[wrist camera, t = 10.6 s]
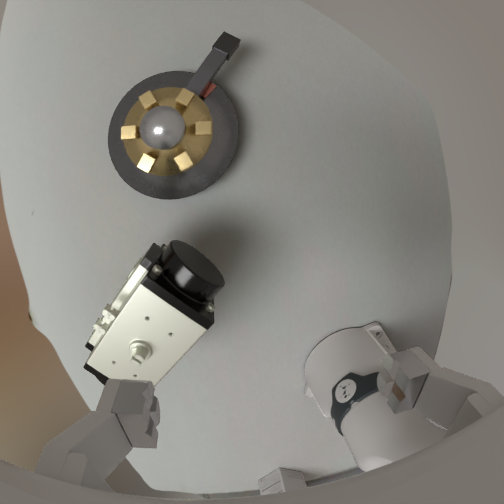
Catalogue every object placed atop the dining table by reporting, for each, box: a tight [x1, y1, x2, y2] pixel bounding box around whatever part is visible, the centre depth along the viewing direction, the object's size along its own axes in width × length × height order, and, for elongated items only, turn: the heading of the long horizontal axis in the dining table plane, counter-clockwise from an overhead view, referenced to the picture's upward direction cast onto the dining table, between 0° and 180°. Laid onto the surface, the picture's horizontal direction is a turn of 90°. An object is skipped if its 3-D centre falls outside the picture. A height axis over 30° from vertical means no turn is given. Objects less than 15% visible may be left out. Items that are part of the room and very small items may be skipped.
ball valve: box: [84, 240, 225, 387], centre depth 32 cm, size 18×8×18 cm, turn 139°
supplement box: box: [258, 468, 307, 495], centre depth 54 cm, size 9×9×15 cm
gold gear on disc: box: [108, 71, 239, 199], centre depth 30 cm, size 16×16×10 cm
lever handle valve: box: [121, 32, 240, 176], centre depth 28 cm, size 18×10×4 cm, turn 149°
